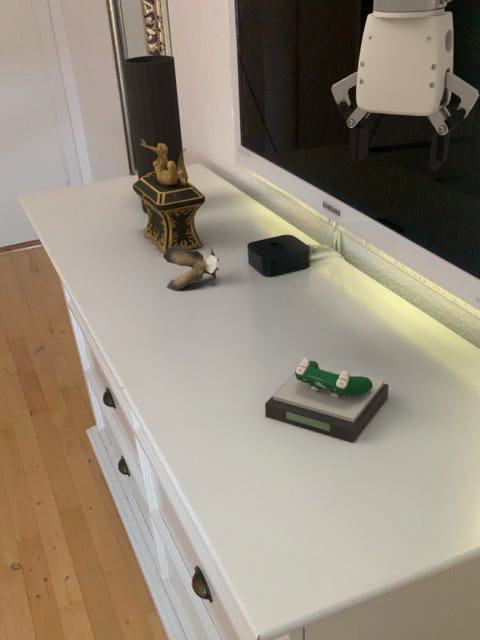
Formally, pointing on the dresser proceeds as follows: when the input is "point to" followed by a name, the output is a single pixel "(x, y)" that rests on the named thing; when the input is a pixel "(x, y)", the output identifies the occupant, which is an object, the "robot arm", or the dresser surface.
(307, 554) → the dresser surface
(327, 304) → the dresser surface
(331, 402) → the scale
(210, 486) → the dresser surface
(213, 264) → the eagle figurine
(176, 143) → the vase
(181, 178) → the decorative box
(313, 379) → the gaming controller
